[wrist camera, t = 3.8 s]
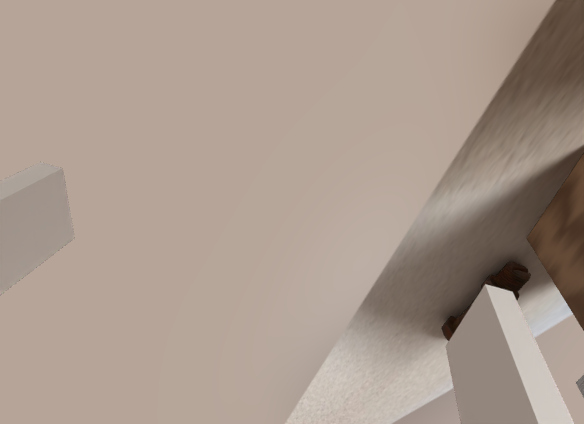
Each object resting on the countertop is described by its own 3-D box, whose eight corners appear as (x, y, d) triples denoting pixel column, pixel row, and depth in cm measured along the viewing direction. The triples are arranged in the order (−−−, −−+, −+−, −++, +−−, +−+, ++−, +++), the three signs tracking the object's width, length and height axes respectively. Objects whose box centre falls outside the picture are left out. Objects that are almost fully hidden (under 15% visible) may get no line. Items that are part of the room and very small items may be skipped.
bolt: (516, 254, 52) (456, 321, 59) (493, 252, 50) (434, 321, 57) (549, 284, 47) (480, 353, 55) (526, 283, 45) (457, 354, 53)
